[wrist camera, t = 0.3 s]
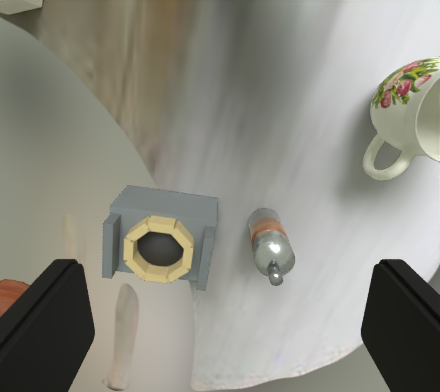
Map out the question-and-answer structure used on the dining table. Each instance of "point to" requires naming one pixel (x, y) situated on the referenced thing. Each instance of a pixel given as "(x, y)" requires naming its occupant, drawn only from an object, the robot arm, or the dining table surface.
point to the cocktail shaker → (270, 245)
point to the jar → (18, 5)
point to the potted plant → (10, 293)
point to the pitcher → (406, 116)
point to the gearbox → (160, 235)
